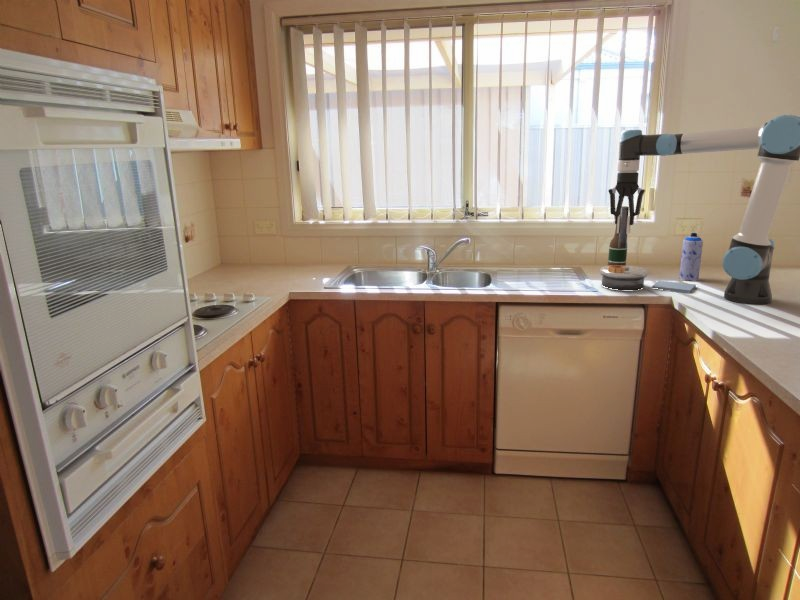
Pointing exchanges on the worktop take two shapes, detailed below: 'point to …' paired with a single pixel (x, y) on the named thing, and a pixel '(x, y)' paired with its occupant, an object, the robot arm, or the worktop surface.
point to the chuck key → (623, 227)
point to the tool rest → (674, 286)
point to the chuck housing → (622, 283)
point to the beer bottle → (616, 252)
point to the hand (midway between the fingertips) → (623, 232)
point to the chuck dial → (623, 272)
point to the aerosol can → (691, 257)
